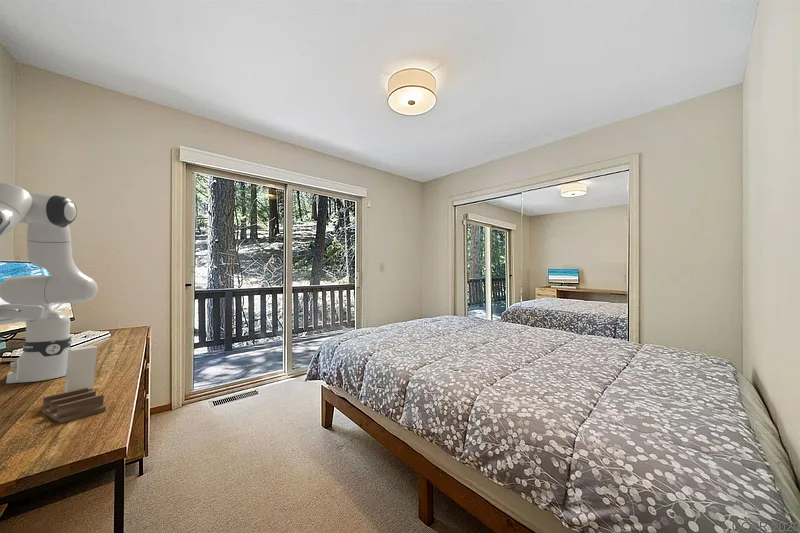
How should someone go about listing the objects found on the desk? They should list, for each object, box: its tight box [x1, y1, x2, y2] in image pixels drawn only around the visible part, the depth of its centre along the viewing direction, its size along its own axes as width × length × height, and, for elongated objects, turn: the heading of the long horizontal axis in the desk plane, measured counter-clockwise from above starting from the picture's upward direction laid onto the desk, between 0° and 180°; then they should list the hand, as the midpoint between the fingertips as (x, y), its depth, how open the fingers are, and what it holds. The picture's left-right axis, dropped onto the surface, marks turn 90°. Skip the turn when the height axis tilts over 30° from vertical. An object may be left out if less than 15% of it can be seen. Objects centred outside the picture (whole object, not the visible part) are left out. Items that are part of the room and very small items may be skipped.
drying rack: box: [39, 387, 107, 425], centre depth 86 cm, size 16×9×4 cm, turn 63°
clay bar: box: [63, 345, 98, 393], centre depth 99 cm, size 3×6×14 cm, turn 152°
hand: (45, 317), depth 92 cm, fingers open, 8 cm apart
